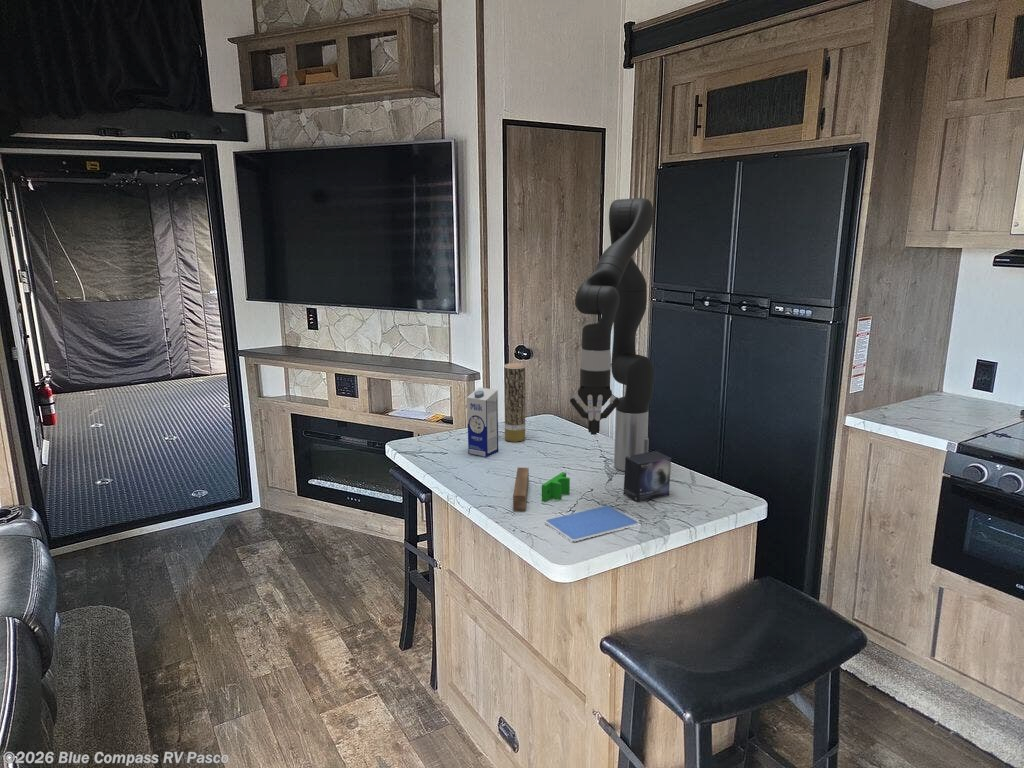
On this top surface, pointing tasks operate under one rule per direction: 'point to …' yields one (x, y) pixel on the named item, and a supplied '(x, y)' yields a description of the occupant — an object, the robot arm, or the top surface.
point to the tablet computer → (590, 523)
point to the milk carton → (482, 422)
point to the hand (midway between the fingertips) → (593, 433)
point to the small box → (647, 476)
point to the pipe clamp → (556, 487)
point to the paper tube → (514, 401)
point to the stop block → (521, 489)
